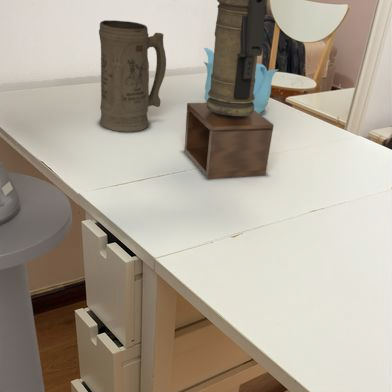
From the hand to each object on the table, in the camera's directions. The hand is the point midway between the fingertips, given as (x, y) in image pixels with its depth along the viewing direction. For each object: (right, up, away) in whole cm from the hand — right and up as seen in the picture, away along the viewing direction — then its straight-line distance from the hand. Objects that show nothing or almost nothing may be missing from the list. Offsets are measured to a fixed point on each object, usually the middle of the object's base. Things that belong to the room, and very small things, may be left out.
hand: (231, 90), depth 97 cm
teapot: (+2, +13, +37) cm, 40 cm away
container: (0, -3, +2) cm, 3 cm away
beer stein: (-21, +4, +23) cm, 32 cm away
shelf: (-1, -10, +9) cm, 13 cm away
